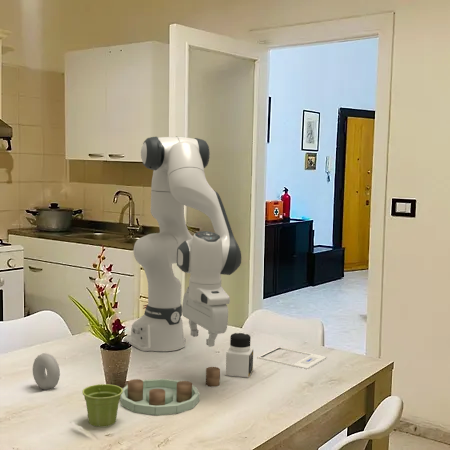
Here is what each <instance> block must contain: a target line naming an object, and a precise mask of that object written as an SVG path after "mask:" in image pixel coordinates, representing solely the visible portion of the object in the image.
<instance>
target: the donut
mask: <svg viewBox="0 0 450 450" xmlns="http://www.w3.org/2000/svg"><path fill="white" fill-rule="evenodd" d="M60 370H61V369H60V366H59V363H58V362H57V360H56V357H54V356H53V355H52V354H50V353H47V352H45V353H41V354H39V355H37V356H36V358H35V359H34V361H33V364H32V376H33V379H34V382H35V384H36V385H37V386H38V387H39V388H40V389H42V390H44V391H49V390H53V389H54V388H56V386H57V385H58V384H59V380H60V376H61V373H60Z"/></svg>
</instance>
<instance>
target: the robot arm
mask: <svg viewBox="0 0 450 450" xmlns="http://www.w3.org/2000/svg"><path fill="white" fill-rule="evenodd" d="M210 152H211V151H210V146H209V144H208V143H207V141H206V140H204V139H201V138H198V137H195V138H192V137H185V136H161V137H159V136H150V137H147V138H146V139H145V140H144V141H143V142H142V146H141V150H140V158H141V162H142V165H143V166H144V167H145V168H146V169H148V170H152V178H151V184H150V188H151V189H150V190H151V192H150V214H151V216H152V217H153V218H154V219H155V220H156V222H157V223H158V228H159V232H156V233H155V232H153V233H149V234H146V235H143V236H142V237H139V238H138V239H137V240H136V241H135V242H134V245H133V256H134V259H135V261H136V262H137V263H138V264H139V265H140V266H141V267H142V268H143V270H144V273H145V276H146V280H147V294H148V295H147V304H144V305H143V307H142V309H143V310H144V309H145V310H144V313H143V315H141V317H139V318H138V319H137V320H136V321H134V322H133V323H132V325H131V331H130V334H128V335H127V336H124V337H125V338H123V341H124V342H126V341H127V342H126V343H128V342H129V343H131V344H132V345H131V344H130V345H131V346H133V347H134V348H136V349H138V350H140V351H143V352H147V351H148V352H150V351H152V352H171V351H178V350H181V349H183V348H185V342H186V337H184V325H183V324H184V323H183V318H186V319H187V320H188V325H189V326H188V327H189V330H190V336H192V337H193V338H194V337H198V336H199V329H198V326H200V327H201V328H203V329H205V330H207V331H208V332H207V333H208V338H206V342H205V345H206V346H208V347H214V346H215V343H216V342H215V341H216V339H217V337H218V335H219V334H225V333H226V332H227V330H228V323H229V307H228V305H229V304H230V303H231V302H230V301H231V299H230V298H231V297H230V296H229V294H228V293H227V291H225V290H224V288H223V286H222V275H227V276H230V275H232V274H233V273H235V272H236V271H237V270H238V269H239V268H240V266H241V264H242V251H241V248H240V246H239V244H238V242H237V240H236V238H235V236H234V232H233V230H232V227H231V224H230V221H229V218H228V215H227V211H226V208H225V207H224V203H223V201H222V198H221V196H220V194H219V193H218V191H216V190H214V189H213V187H212V186H211V185H210V184H209V182H208V180H207V177H206V173H205V168H207V166H208V164H209V161H210V158H211V157H210V155H211V153H210ZM185 206H186V207H188V208H191V209H194V210H197V211H199V212H201V213H203V214H204V215H206V217H208V218H209V220H210V222H211V225H212V227H213V230H214V231H207V230H201V231H198V232H197V231H196V232H195V233H194V234H193V235H192V234H191V232H190V231H189V229H188V226H187V222H186V217H185ZM174 264H176V266H177V267H178V268H179V269H180V270H181V271H182V272H183V273H186V274H189V278H188V279H189V280H188V286H187V288H186V291H185V292H184V295H183V297H182V283H181V281H180V279H179V278H177V277H176V275H175V273H174V270H173V265H174ZM182 298H183V299H182ZM182 317H183V318H182ZM125 340H126V341H125ZM129 343H128V344H129Z"/></svg>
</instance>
